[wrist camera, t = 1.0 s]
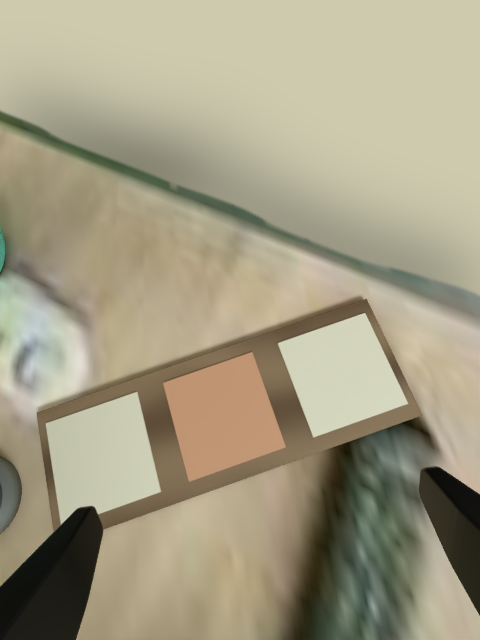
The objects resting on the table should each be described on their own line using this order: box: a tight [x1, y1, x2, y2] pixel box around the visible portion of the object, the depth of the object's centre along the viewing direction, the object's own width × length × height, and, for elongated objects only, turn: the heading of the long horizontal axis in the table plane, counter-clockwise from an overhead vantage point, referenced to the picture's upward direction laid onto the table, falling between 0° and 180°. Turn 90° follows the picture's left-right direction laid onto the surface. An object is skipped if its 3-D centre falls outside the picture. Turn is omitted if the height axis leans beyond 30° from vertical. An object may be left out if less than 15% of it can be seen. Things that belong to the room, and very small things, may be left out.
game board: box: [37, 299, 422, 531], centre depth 23 cm, size 9×26×1 cm, turn 109°
